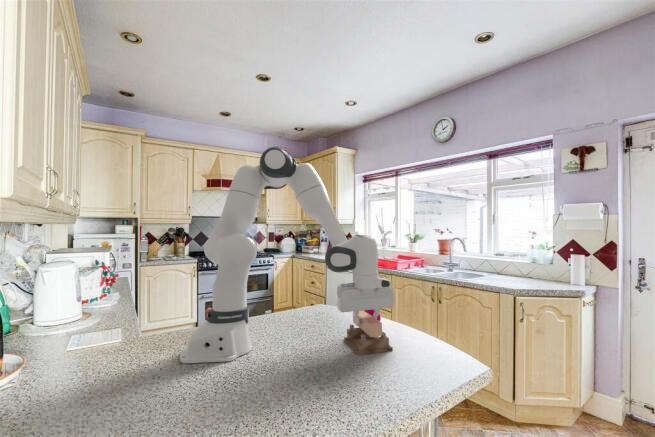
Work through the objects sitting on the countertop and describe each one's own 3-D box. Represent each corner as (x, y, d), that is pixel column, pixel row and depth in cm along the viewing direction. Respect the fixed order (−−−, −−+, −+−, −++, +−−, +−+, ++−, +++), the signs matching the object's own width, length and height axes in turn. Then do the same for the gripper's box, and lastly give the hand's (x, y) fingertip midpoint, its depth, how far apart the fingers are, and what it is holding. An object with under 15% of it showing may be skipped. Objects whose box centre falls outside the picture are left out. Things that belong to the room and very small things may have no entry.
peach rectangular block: (370, 337, 100) (370, 324, 100) (353, 322, 115) (352, 311, 116) (382, 335, 101) (381, 323, 101) (363, 321, 117) (363, 310, 117)
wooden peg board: (357, 355, 100) (357, 337, 100) (344, 340, 113) (343, 324, 113) (392, 350, 103) (392, 333, 103) (375, 336, 116) (374, 321, 116)
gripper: (339, 285, 103) (340, 328, 103) (396, 281, 108) (397, 322, 108) (334, 282, 109) (334, 322, 109) (388, 278, 114) (389, 317, 114)
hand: (366, 322), depth 108 cm, fingers closed on peach rectangular block, 4 cm apart
